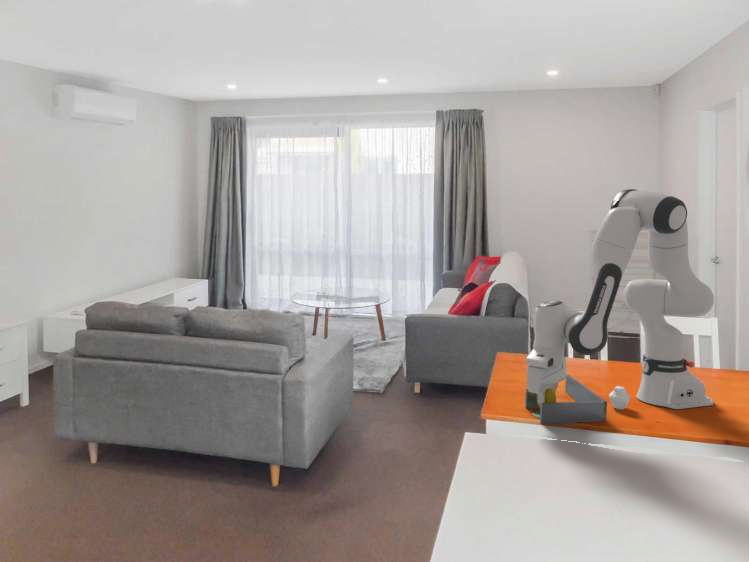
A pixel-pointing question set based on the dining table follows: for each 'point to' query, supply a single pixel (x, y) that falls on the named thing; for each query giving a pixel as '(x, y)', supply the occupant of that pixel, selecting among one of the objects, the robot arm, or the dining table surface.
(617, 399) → the white rounded piece
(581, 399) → the rail corridor
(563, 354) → the robot arm
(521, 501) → the dining table surface
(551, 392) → the lemon
